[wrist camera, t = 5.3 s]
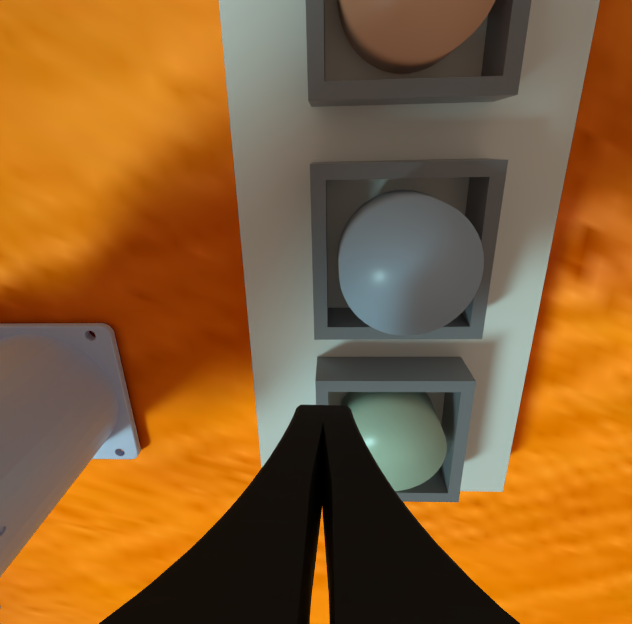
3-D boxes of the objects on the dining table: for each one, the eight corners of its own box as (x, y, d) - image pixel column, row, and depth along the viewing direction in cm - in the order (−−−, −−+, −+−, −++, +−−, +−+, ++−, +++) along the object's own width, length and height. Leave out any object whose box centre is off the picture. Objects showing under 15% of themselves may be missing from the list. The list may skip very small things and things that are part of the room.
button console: (269, 460, 23) (256, 521, 19) (219, -145, 13) (175, -260, 10) (488, 462, 22) (519, 526, 18) (598, -167, 13) (707, -296, 9)
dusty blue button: (338, 311, 15) (339, 335, 13) (338, 190, 14) (338, 198, 12) (455, 310, 15) (474, 335, 13) (469, 188, 14) (493, 195, 12)
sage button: (337, 454, 20) (338, 490, 18) (337, 375, 18) (338, 404, 16) (430, 455, 19) (441, 492, 17) (438, 376, 18) (452, 405, 16)
